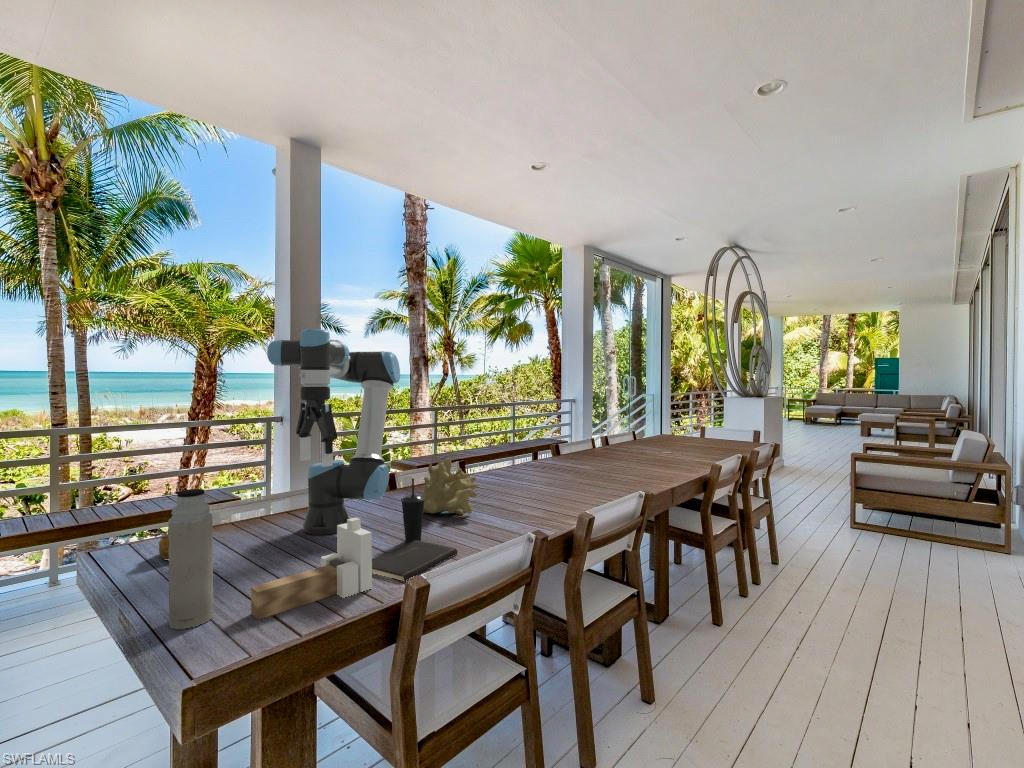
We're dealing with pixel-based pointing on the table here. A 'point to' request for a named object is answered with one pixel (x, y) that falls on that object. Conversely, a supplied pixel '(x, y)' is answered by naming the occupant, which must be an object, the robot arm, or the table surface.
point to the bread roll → (164, 547)
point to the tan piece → (294, 590)
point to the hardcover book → (410, 559)
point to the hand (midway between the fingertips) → (316, 463)
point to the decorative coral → (448, 489)
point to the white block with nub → (352, 558)
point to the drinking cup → (413, 515)
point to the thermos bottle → (190, 561)
